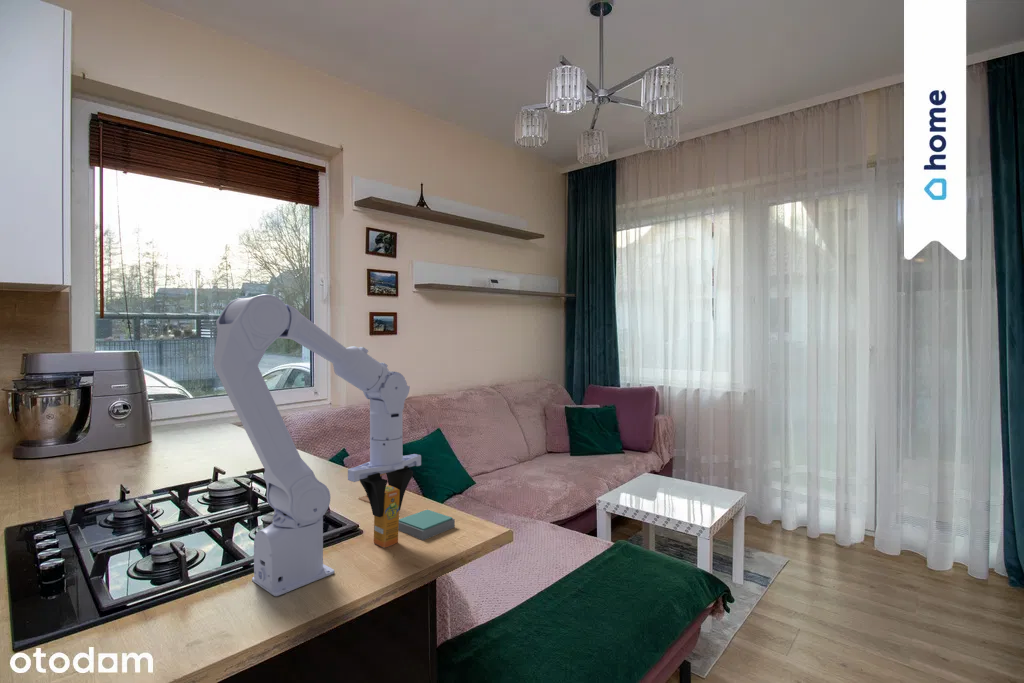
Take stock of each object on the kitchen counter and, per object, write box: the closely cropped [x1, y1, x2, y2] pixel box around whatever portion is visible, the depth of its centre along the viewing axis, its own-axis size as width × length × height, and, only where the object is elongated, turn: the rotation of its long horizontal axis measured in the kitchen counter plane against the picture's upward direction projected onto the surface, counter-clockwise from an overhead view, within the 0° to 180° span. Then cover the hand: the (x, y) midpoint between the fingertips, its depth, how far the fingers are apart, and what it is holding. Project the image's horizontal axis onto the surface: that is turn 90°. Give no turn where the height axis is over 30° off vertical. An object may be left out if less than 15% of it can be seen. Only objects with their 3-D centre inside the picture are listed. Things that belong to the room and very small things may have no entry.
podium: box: [398, 509, 456, 541], centre depth 97 cm, size 8×8×2 cm
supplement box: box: [373, 484, 400, 549], centre depth 90 cm, size 3×4×10 cm
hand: (386, 512), depth 90 cm, fingers closed on supplement box, 3 cm apart
